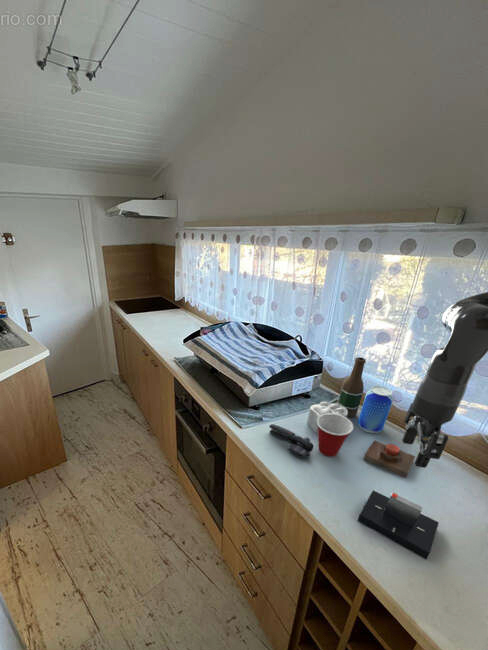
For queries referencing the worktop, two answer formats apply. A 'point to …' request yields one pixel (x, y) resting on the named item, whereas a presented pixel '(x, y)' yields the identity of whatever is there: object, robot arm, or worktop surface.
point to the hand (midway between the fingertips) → (413, 453)
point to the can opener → (293, 441)
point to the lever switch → (399, 526)
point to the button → (392, 449)
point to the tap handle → (403, 510)
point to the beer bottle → (353, 389)
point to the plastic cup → (332, 433)
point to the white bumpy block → (323, 409)
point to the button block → (389, 459)
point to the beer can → (375, 409)
